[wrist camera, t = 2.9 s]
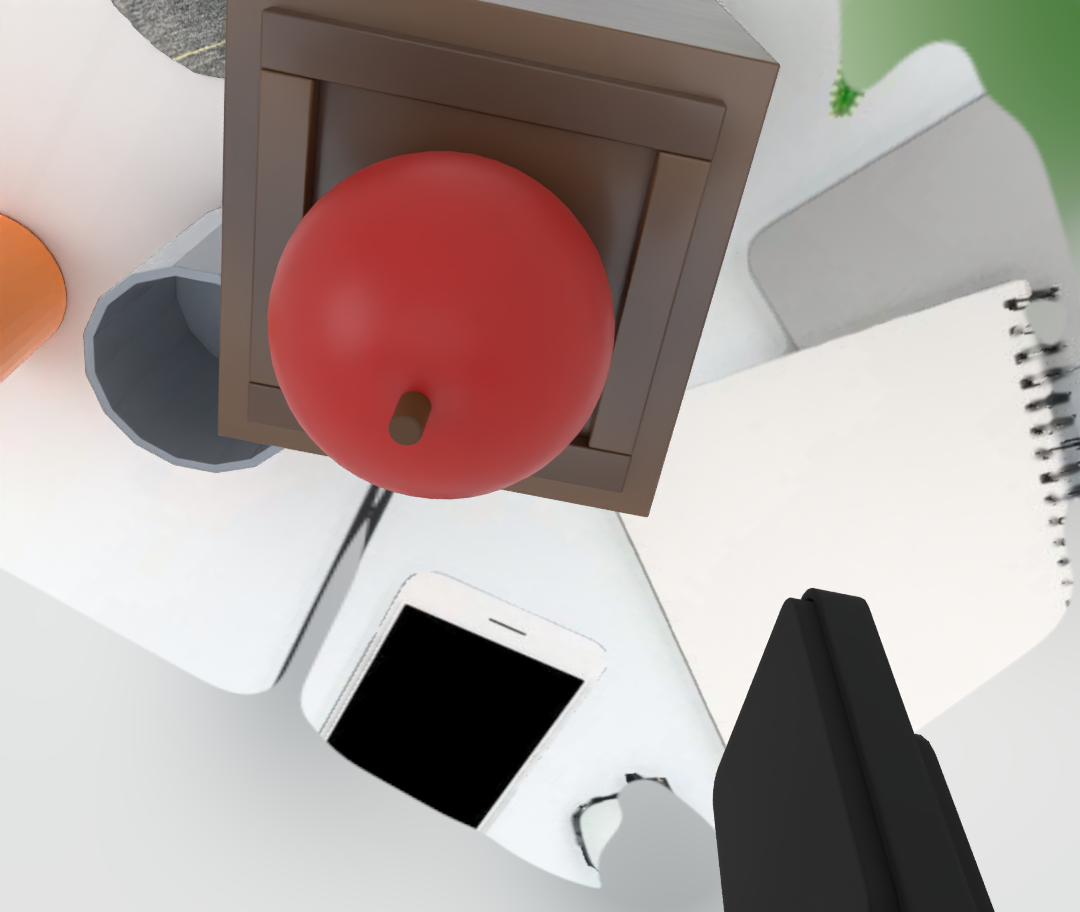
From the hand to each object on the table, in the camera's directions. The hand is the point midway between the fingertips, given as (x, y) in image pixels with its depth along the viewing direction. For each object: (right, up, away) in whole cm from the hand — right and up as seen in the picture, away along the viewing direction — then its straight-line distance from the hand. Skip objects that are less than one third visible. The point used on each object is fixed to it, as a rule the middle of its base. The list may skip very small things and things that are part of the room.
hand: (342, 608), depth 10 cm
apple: (+1, +5, +9) cm, 11 cm away
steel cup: (-11, +9, +36) cm, 38 cm away
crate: (+2, +17, +30) cm, 35 cm away
